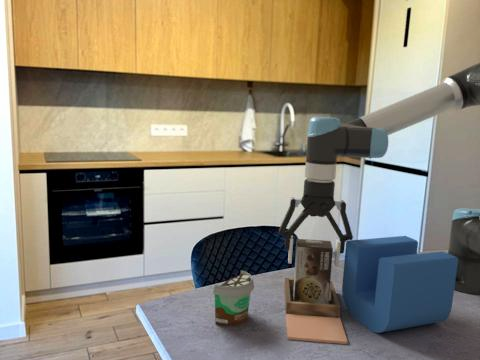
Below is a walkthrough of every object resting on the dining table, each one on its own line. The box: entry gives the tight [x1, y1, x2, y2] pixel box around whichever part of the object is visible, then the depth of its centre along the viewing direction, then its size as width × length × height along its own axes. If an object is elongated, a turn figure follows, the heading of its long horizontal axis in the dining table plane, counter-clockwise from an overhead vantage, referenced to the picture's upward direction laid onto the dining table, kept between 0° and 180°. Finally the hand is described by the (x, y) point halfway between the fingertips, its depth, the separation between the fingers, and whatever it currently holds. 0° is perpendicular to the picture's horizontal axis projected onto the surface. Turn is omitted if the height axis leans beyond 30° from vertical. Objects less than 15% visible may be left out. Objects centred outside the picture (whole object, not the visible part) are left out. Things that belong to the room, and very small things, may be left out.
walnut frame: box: [283, 277, 341, 319], centre depth 119 cm, size 13×16×3 cm
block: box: [341, 235, 458, 334], centre depth 111 cm, size 18×18×18 cm
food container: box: [212, 269, 255, 327], centre depth 107 cm, size 12×6×10 cm, turn 148°
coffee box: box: [292, 238, 334, 304], centre depth 118 cm, size 9×6×16 cm
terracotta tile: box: [285, 313, 349, 345], centre depth 105 cm, size 13×11×1 cm
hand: (312, 263), depth 118 cm, fingers open, 11 cm apart
